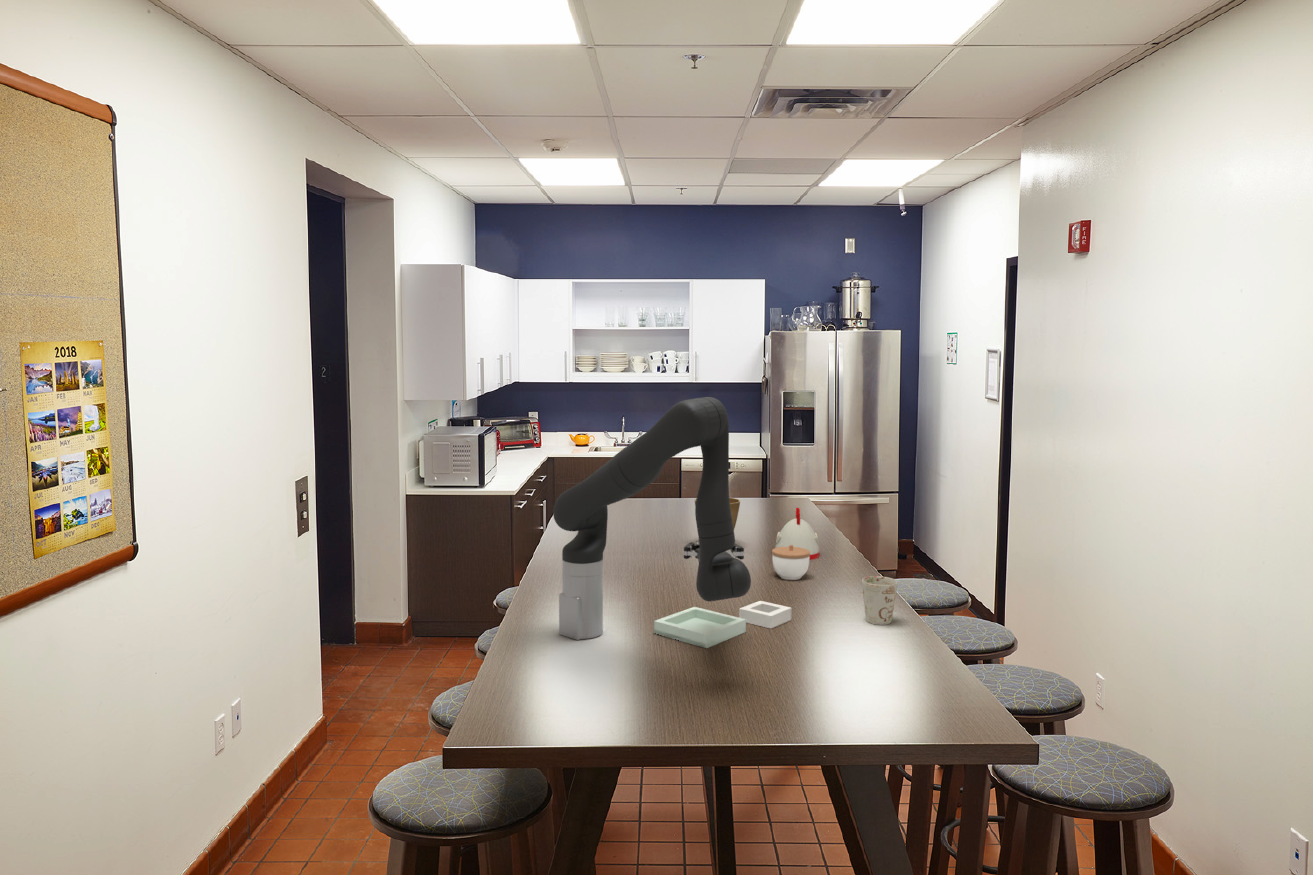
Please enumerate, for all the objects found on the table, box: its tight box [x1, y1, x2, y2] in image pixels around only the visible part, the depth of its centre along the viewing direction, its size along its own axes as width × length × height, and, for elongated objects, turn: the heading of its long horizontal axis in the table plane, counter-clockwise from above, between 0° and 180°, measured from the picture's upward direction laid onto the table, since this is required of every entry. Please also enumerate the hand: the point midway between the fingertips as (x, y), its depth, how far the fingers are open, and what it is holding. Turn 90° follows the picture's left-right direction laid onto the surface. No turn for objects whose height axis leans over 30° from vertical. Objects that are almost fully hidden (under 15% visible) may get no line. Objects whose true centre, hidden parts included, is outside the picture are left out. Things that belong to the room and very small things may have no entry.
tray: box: [653, 606, 747, 649], centre depth 203 cm, size 15×15×3 cm
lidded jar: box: [771, 545, 810, 581], centre depth 253 cm, size 11×11×9 cm
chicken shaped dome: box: [774, 507, 820, 561], centre depth 280 cm, size 14×14×15 cm
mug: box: [861, 575, 899, 626], centre depth 215 cm, size 8×13×10 cm, turn 15°
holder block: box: [738, 600, 793, 629], centre depth 213 cm, size 9×9×3 cm
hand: (710, 543), depth 206 cm, fingers closed on dowel, 4 cm apart
